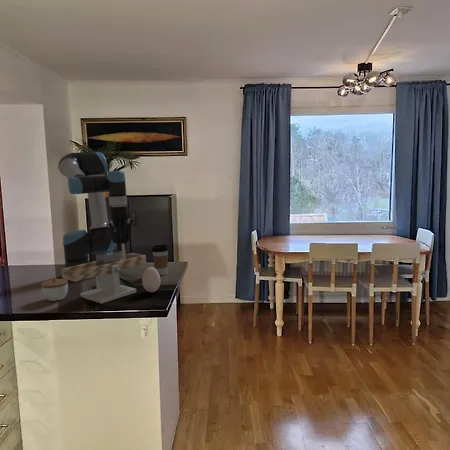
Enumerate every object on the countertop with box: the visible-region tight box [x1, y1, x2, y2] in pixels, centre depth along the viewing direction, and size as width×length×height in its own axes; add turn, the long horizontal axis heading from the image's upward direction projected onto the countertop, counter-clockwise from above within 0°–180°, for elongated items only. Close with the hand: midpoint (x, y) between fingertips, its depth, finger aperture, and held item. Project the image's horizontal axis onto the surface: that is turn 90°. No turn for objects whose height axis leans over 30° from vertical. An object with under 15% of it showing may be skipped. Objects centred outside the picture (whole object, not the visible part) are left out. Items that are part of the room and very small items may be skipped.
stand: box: [80, 265, 137, 304], centre depth 181 cm, size 18×16×14 cm
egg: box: [141, 266, 162, 293], centre depth 182 cm, size 8×8×11 cm
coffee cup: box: [151, 244, 169, 276], centre depth 212 cm, size 8×8×15 cm
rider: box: [95, 251, 120, 266], centre depth 181 cm, size 8×6×5 cm
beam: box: [60, 252, 147, 282], centre depth 180 cm, size 36×10×4 cm, turn 140°
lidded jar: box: [40, 277, 69, 302], centre depth 178 cm, size 11×11×9 cm
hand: (122, 257), depth 187 cm, fingers closed
